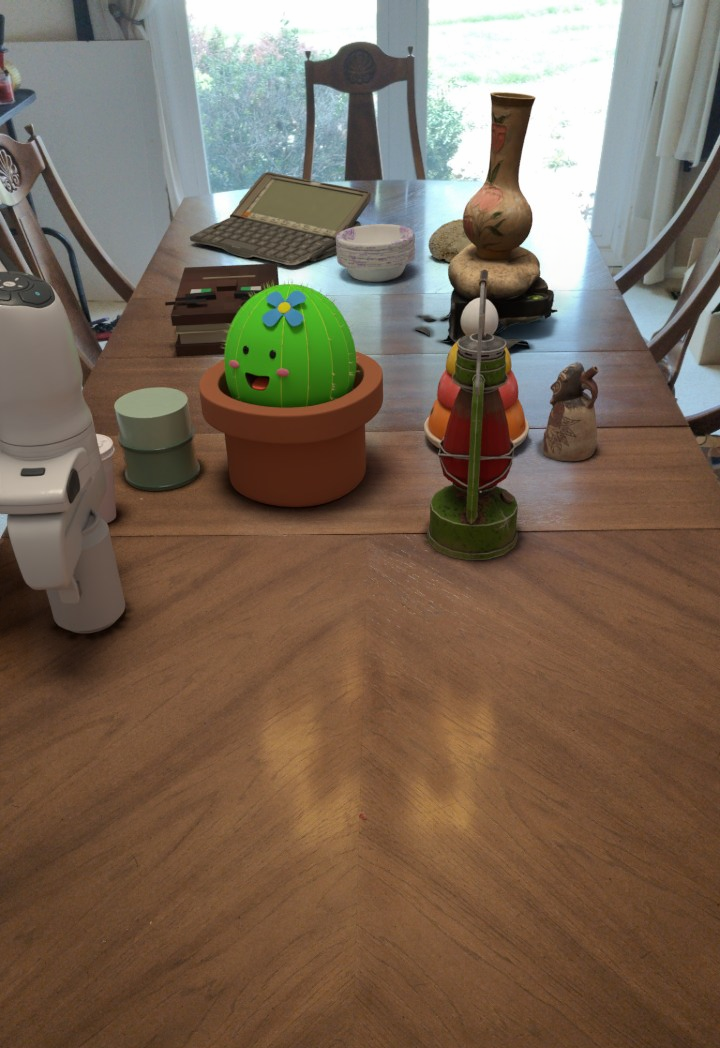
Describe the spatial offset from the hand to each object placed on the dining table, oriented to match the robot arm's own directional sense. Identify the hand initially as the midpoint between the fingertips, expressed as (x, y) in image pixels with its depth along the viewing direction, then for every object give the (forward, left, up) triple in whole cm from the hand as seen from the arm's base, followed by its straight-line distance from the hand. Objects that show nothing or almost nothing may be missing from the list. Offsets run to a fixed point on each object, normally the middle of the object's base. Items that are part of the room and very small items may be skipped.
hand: (81, 575), depth 101 cm
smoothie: (-3, +21, -6) cm, 22 cm away
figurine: (+57, +35, -6) cm, 67 cm away
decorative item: (+50, +121, -6) cm, 131 cm away
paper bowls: (+33, +112, -6) cm, 117 cm away
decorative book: (+7, +86, -5) cm, 87 cm away
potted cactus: (+21, +30, -5) cm, 37 cm away
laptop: (+13, +136, -6) cm, 137 cm away
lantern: (+42, +14, -6) cm, 44 cm away
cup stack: (+3, +32, -5) cm, 33 cm away
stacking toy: (+45, +39, -6) cm, 60 cm away
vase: (+52, +82, -6) cm, 97 cm away
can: (0, 0, -6) cm, 6 cm away
